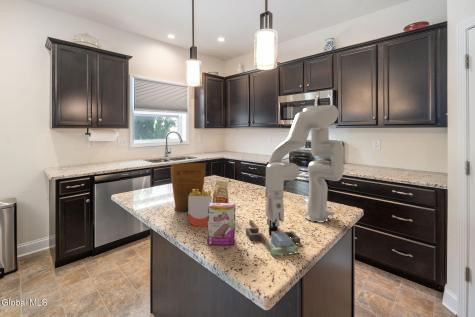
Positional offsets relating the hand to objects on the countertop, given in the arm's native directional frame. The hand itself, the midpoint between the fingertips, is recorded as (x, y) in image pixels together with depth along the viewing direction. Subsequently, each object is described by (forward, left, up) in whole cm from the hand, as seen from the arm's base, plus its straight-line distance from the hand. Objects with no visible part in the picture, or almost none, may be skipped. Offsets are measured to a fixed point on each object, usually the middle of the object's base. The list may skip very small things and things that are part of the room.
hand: (272, 235), depth 103 cm
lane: (0, -3, -2) cm, 4 cm away
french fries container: (+29, -23, -2) cm, 37 cm away
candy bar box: (+22, -1, -2) cm, 22 cm away
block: (-1, +7, -2) cm, 7 cm away
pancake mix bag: (+34, -45, -2) cm, 57 cm away
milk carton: (+17, -34, -2) cm, 38 cm away
